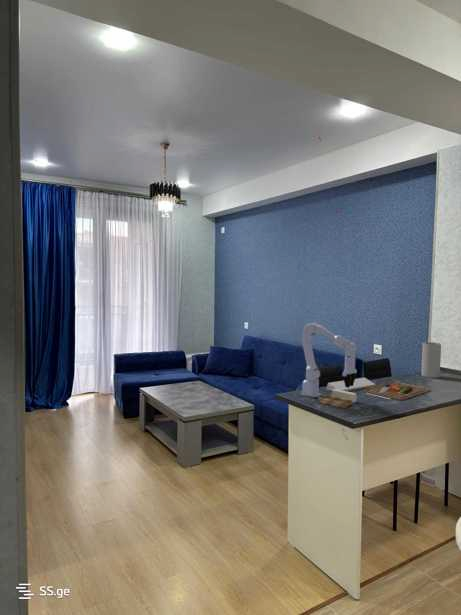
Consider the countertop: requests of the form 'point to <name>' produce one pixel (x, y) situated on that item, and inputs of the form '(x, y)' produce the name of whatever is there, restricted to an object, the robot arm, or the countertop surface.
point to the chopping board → (396, 391)
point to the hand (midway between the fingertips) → (349, 386)
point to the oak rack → (335, 401)
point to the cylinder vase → (431, 359)
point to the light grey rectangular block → (344, 394)
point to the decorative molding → (357, 384)
